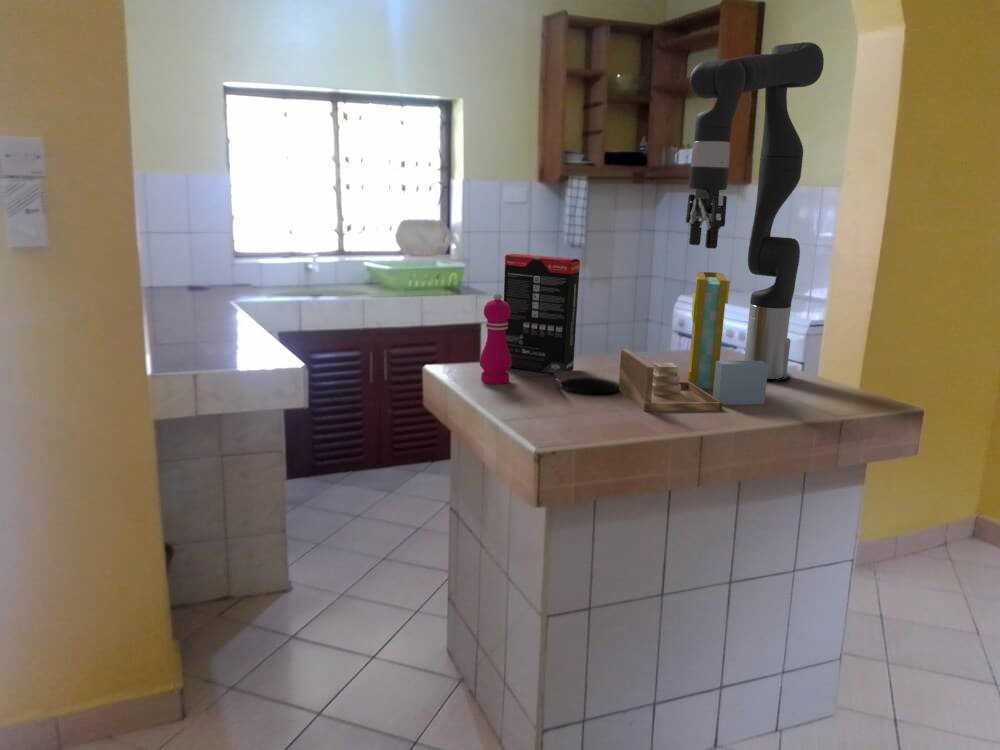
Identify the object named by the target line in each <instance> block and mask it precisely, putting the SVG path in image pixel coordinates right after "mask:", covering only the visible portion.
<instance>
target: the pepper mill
mask: <svg viewBox="0 0 1000 750" xmlns="http://www.w3.org/2000/svg"><path fill="white" fill-rule="evenodd" d="M502 296H503V295H502V293H500V292H495V293H494V295H493V299H491V300H489V301H488V302H487V303H485V305H484V307H483V315H484V318H486V321H485V328H486V329H487V330H486V333H487V336H486V342H485V345H484V347H483V349H482V351H481V354H480V356H479V366H480V367H481V369H482V370H483V371H482V372H481V374H480V375H481V376H480V380H481V382H483V383H484V382H485V384H488V383H490V385H503V384H504V385H505V384H507V383H509V381H510V373H509V372H508V370H509V369H511V368H512V367H511V365H512V359H511V355H510V352H509V349H508V347H507V344H506V329H507V328H508V325H507V324H508V322H506V321H507V319H508V318H509V317H510V315H511V309H510V306H509V304H508V303H507V302H505V301H504V299H502Z"/></svg>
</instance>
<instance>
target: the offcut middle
mask: <svg viewBox="0 0 1000 750" xmlns="http://www.w3.org/2000/svg"><path fill="white" fill-rule="evenodd" d="M679 382H680V375H679V374H677V376H658V375H657V374H655V373H654V372H653V384H655V385H656V386H662V385H679Z"/></svg>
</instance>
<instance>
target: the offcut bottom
mask: <svg viewBox="0 0 1000 750" xmlns="http://www.w3.org/2000/svg"><path fill="white" fill-rule="evenodd" d="M680 392H681V385H680V384H679V385H662V386H656V385H655V384H652V394H653V395H680Z"/></svg>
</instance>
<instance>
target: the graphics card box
mask: <svg viewBox="0 0 1000 750" xmlns="http://www.w3.org/2000/svg"><path fill="white" fill-rule="evenodd" d="M580 267H581V260H580V259H578V258H570V257H560V256H547V255H535V254H523V253H520V254H519V253H508V254H505V255H504V279H503V280H504V281H503V282H504V283H503V284H504V285H503V301H505V302H507V303H508V304H509V306H510V309H511V315H510V317H509V318H508V319H507V321H506V322H508V324H507V325H508V328H507V329H506V344H507V347H508V349H509V352H510V355H511V359H512V365H511V367H510V368H515V369H521V370H527V371H528V370H529V371H534V372H541V373H544V374H552V375H554V374H555V373H554V372H572V371H573V370H574V364H575V363H574V361H575V348H576V347H575V346H576V332H577V331H576V328H577V312H578V297H579V284H580V283H579V281H580V269H581V268H580Z"/></svg>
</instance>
